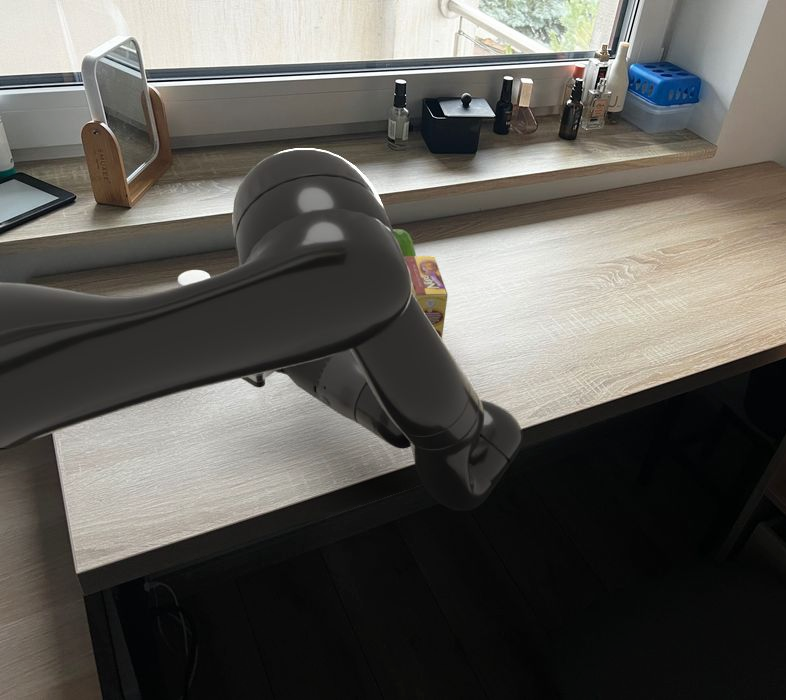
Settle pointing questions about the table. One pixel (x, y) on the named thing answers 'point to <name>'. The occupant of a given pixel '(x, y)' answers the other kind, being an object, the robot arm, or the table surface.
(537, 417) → the table surface
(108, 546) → the table surface
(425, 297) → the candy box
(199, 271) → the supplement bottle
